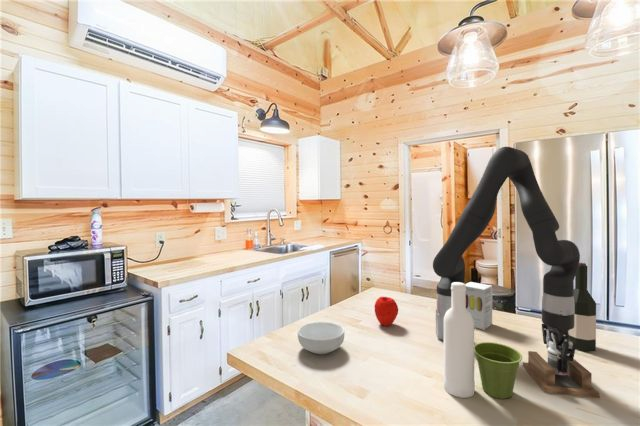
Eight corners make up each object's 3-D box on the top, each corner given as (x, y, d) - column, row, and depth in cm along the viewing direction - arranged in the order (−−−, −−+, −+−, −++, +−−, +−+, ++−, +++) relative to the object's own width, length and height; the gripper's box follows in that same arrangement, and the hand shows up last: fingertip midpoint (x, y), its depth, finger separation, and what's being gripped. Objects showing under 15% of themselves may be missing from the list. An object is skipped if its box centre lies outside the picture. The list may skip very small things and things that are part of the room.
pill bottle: (563, 368, 92) (564, 340, 92) (570, 376, 88) (571, 347, 87) (544, 365, 94) (545, 338, 93) (550, 374, 89) (551, 345, 89)
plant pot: (466, 378, 92) (466, 341, 92) (508, 380, 91) (508, 342, 91) (483, 404, 81) (483, 361, 80) (531, 406, 79) (532, 363, 79)
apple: (401, 322, 136) (400, 295, 135) (393, 330, 127) (393, 301, 127) (379, 318, 141) (379, 292, 141) (371, 326, 133) (370, 297, 132)
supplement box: (461, 323, 133) (460, 285, 133) (469, 318, 140) (469, 281, 139) (484, 330, 126) (484, 289, 126) (493, 324, 133) (493, 285, 132)
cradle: (544, 392, 85) (544, 372, 85) (522, 365, 99) (522, 348, 99) (599, 397, 82) (599, 377, 82) (569, 369, 96) (569, 352, 96)
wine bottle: (602, 353, 106) (603, 265, 105) (574, 351, 108) (575, 265, 107) (586, 342, 114) (587, 261, 113) (560, 340, 116) (561, 260, 115)
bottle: (438, 382, 91) (438, 280, 90) (464, 380, 91) (464, 279, 90) (452, 399, 83) (452, 288, 82) (480, 397, 83) (480, 286, 82)
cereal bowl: (351, 343, 117) (350, 325, 116) (334, 364, 102) (333, 343, 101) (310, 336, 124) (310, 318, 124) (289, 355, 109) (288, 335, 108)
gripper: (532, 300, 98) (531, 353, 98) (556, 317, 84) (555, 379, 84) (559, 301, 96) (558, 356, 97) (588, 319, 82) (587, 382, 83)
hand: (557, 366), depth 91 cm, fingers closed on pill bottle, 4 cm apart
